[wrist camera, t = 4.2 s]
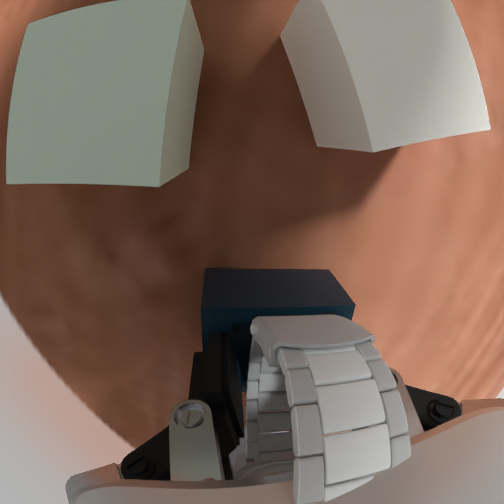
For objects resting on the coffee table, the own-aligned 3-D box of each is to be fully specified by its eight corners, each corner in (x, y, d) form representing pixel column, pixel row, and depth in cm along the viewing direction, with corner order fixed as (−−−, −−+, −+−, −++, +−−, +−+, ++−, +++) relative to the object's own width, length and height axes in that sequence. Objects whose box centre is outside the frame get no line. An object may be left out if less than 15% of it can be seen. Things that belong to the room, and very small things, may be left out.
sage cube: (92, 55, 9) (27, 24, 4) (204, 50, 9) (188, -6, 5) (79, 164, 10) (6, 184, 6) (188, 168, 11) (159, 187, 6)
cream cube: (279, 36, 9) (311, -21, 5) (381, 27, 9) (446, -9, 4) (316, 146, 11) (373, 152, 6) (412, 125, 11) (490, 129, 6)
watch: (208, 373, 15) (211, 573, 4) (205, 228, 12) (168, 552, 2) (309, 370, 15) (370, 548, 5) (336, 232, 12) (529, 436, 2)
